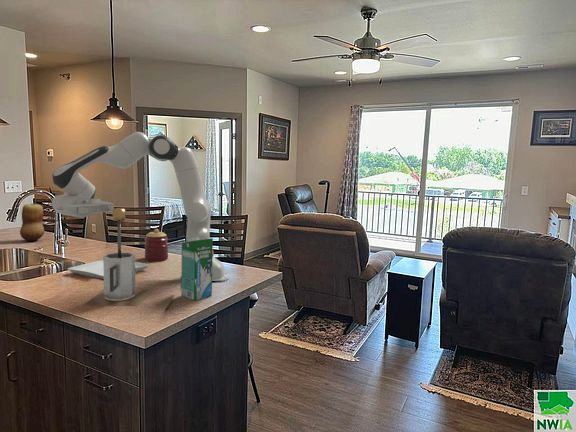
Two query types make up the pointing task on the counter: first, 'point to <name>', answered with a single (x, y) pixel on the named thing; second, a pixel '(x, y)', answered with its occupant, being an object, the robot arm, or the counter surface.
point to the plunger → (119, 225)
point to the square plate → (99, 269)
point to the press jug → (119, 277)
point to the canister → (156, 246)
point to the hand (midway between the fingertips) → (100, 210)
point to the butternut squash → (32, 222)
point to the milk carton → (197, 268)
